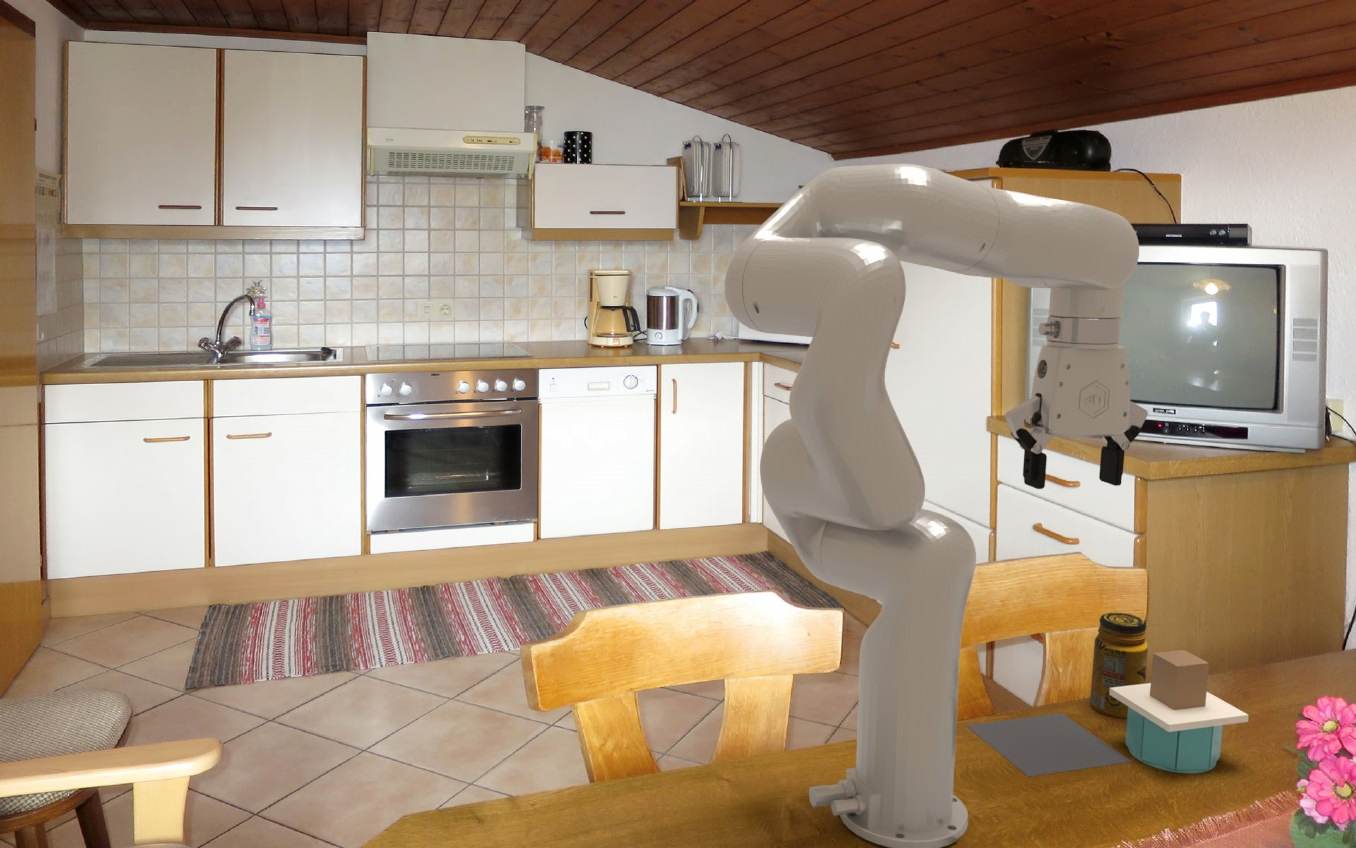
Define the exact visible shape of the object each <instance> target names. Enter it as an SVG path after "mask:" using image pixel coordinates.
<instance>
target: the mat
mask: <svg viewBox="0 0 1356 848" xmlns="http://www.w3.org/2000/svg"><path fill="white" fill-rule="evenodd" d="M965 726H966V728H968V729H969V730H971V731H972V733H974V734H975V735H976V736H977V737H979V738H980V739H981V740H982V741H984V742H985V743H987V745H988V746H990V747H991V748H992V749H994V750H995V751H996V752H997V753H998V754H1000V755H1001V756H1002V757H1004V758H1005V760H1007V761H1008V762H1010V763H1011V764H1012V765H1013V766H1014V767H1016V768H1017V769H1018V770H1019V771H1021V773H1023V774H1024V775H1025V776H1027V777H1028V778H1031V777H1038V776H1039V777H1040V776H1045V775H1051V774H1058V773H1065V772H1072V771H1080V770H1086V769H1087V770H1088V769H1094V768H1101V767H1107V766H1114V765H1124V764H1129V763H1133V761H1132V760H1131V759H1130V758H1128V757H1126V756H1125V755H1124V754H1122V753H1121V752H1119V751H1118V750H1117V749H1115V748H1113V747H1112V746H1110V745H1109V744H1107V743H1106V742H1104V741H1103V740H1102V739H1100V738H1099V737H1097V736H1096V735H1095V734H1094V733H1092V732H1090V731H1088V730H1087V729H1086V728H1084V727H1083V726H1082V725H1080V724H1079V723H1077V722H1076V721H1074V720H1072V719H1071V718H1070V717H1068V716H1067V715H1065V714H1064V713H1063V712H1061V713H1051V714H1045V715H1043V714H1042V715H1037V716H1030V717H1021V718H1012V719H1004V720H997V721H989V722H982V723H981V722H979V723H973V724H965Z"/></svg>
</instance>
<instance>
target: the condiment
mask: <svg viewBox="0 0 1356 848" xmlns="http://www.w3.org/2000/svg"><path fill="white" fill-rule="evenodd" d="M1146 631H1147V622H1146V621H1145V620H1144V619H1143V618H1141V617H1139V616H1137V615H1134V614H1130V613H1125V612H1107V613H1103V614H1102V615H1101V616H1100V618H1099V627H1098V629H1097V632H1098V634H1097V636H1096V637H1095V638H1094V647H1093V658H1092V659H1093V660H1092V671H1091V686H1090V698H1089V701H1090V705H1091V708H1092V709H1093V710H1095V711H1096V712H1098V713H1100V714H1102V715H1104V716H1109V717H1112V718H1117V719H1118V718H1120V719H1127V716H1128V706H1127V705H1125V704H1123V703H1122V702H1120V701H1119V700H1117V699H1116V698H1114V697H1112V696H1111V695H1109V690H1110V688H1112V687H1121V686H1130V685H1139V684H1146V677H1147V663H1148V652H1149V646H1148V643H1147V641H1146V638H1147V633H1146Z"/></svg>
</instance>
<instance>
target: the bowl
mask: <svg viewBox="0 0 1356 848" xmlns="http://www.w3.org/2000/svg"><path fill="white" fill-rule="evenodd" d="M1126 719H1127V720H1126V729H1125V730H1126V731H1125V745H1126V747H1127V749H1128V752H1129V753H1130V754H1131V756H1132V757H1134V758H1135V759H1136V760H1137V761H1139V762H1142V763H1143V764H1145V765H1147V766H1149V767H1150V766H1151V767H1153V768H1156V769H1158V770H1162V771H1168V772H1171V773H1179V774H1201V773H1202V774H1203V773H1206V772H1209V771H1211V770H1213V769H1214V768H1215V767H1216V765H1217V761H1218V760H1219V759H1220V758H1221V750H1222V749H1221V747H1222V739H1223V728H1224V725H1219V726H1212V727H1204V728H1196V729H1188V730H1180V731H1173V732H1168V731H1166V730H1165V729H1163V728H1161V727H1160V726H1158V725H1157V724H1155V723H1154V722H1152V721H1150V720H1149V719H1147V718H1146V717H1144V716H1142V715H1141V714H1139V713H1138V712H1136V711H1135V710H1133V709H1131V708H1130V707H1128V716H1127V718H1126Z"/></svg>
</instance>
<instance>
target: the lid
mask: <svg viewBox="0 0 1356 848" xmlns="http://www.w3.org/2000/svg"><path fill="white" fill-rule="evenodd" d="M1209 668H1210V663H1209V662H1208V661H1206V660H1204V659H1203V658H1200V657H1198V656H1196V655H1194V654H1193V653H1191V652H1189V651H1186V650H1185V649H1181V650H1180V649H1179V650H1178V649H1177V650H1169V651H1160V652H1152V663H1151V675H1150V676H1151V677H1150V682H1149V683H1145V684H1139V685H1130V686H1121V687H1112V688H1110V690H1109V695H1111V696H1112V697H1114V698H1116V699H1117V700H1119V701H1120V702H1122V703H1123V704H1125V705H1127V706H1128V707H1130V708H1131V709H1133V710H1135V711H1136V712H1138V713H1139V714H1141V715H1142V716H1144V717H1146V718H1147V719H1149V720H1150V721H1152V722H1154V723H1155V724H1157V725H1158V726H1160V727H1161V728H1163V729H1165V730H1166V731H1168V732H1173V731H1180V730H1188V729H1196V728H1204V727H1212V726H1219V725H1223V726H1226V725H1227V726H1228V725H1235V724H1241V723H1248V722H1249V714H1248V713H1246V712H1245V711H1244V710H1243V711H1242V710H1240V709H1239V708H1237V707H1235V706H1233V705H1232V704H1230V703H1228V702H1226V701H1224V700H1223V699H1222V698H1219V697H1217V696H1215V695H1214V694H1212V693H1210V692H1208V680H1209Z"/></svg>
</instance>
